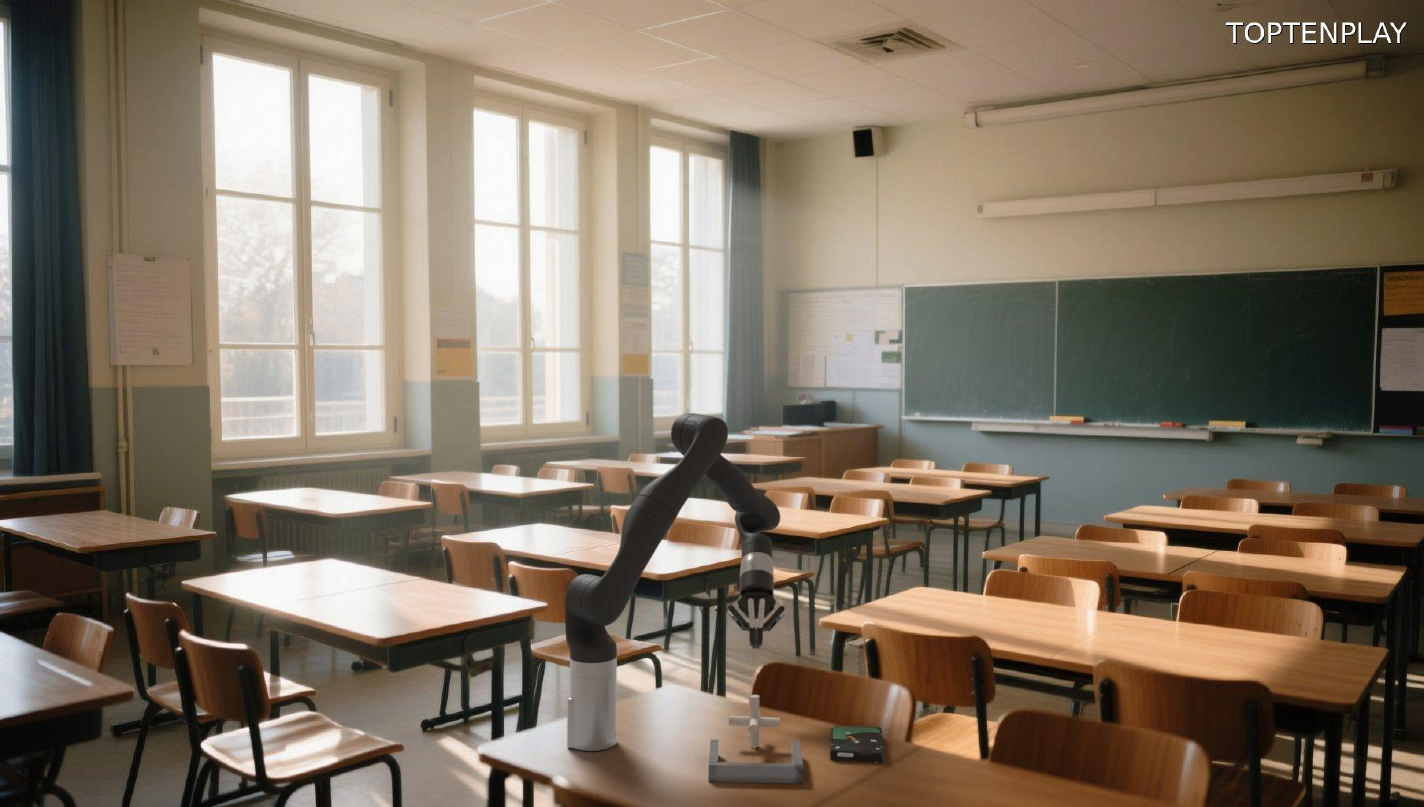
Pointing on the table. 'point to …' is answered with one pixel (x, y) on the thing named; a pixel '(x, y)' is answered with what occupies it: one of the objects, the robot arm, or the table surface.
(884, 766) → the table surface
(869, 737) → the disk drive
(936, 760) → the table surface
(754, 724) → the pipe connector
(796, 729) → the table surface
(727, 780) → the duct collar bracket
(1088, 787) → the table surface
